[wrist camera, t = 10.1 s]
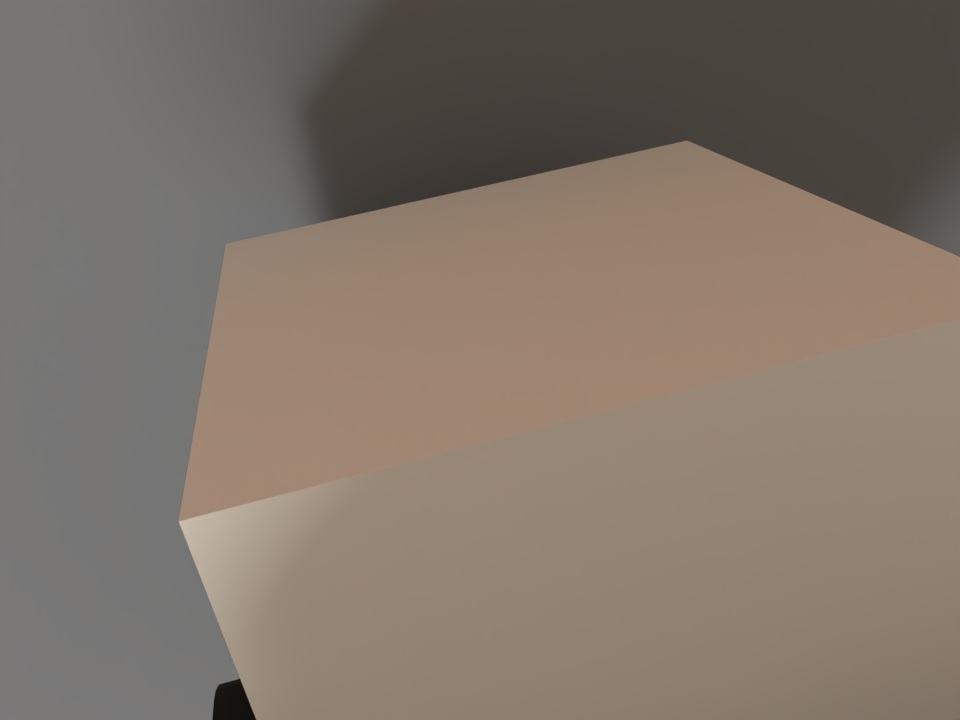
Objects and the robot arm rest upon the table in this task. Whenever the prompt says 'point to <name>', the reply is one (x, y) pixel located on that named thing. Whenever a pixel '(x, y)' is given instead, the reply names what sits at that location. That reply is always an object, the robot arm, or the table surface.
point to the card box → (586, 455)
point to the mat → (328, 196)
